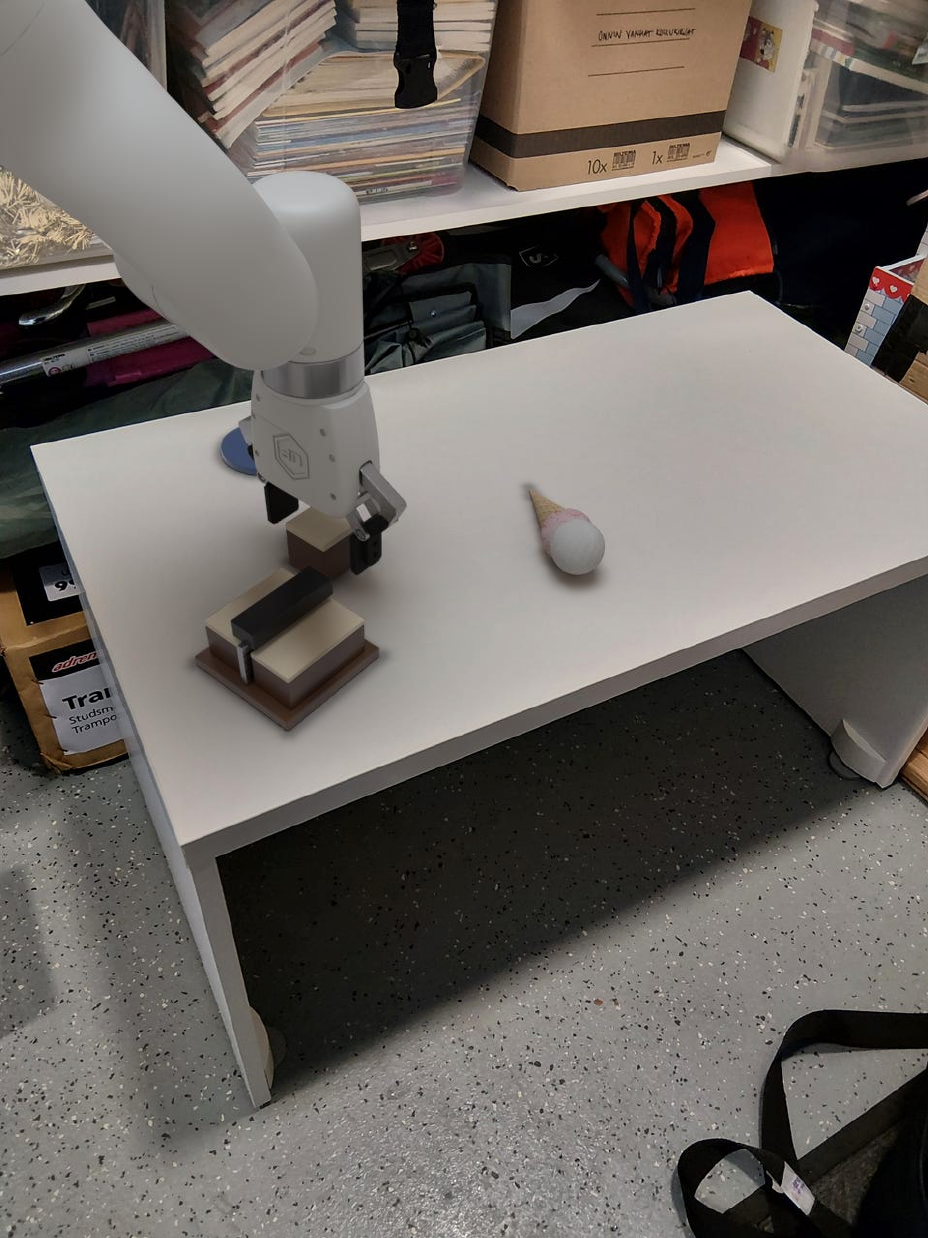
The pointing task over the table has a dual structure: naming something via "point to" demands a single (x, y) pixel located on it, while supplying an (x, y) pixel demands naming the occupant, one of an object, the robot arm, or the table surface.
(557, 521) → the ice cream cone
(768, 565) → the table surface
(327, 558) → the two-tone brown cube
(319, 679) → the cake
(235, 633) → the black and silver bar
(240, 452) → the plate
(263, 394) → the robot arm
